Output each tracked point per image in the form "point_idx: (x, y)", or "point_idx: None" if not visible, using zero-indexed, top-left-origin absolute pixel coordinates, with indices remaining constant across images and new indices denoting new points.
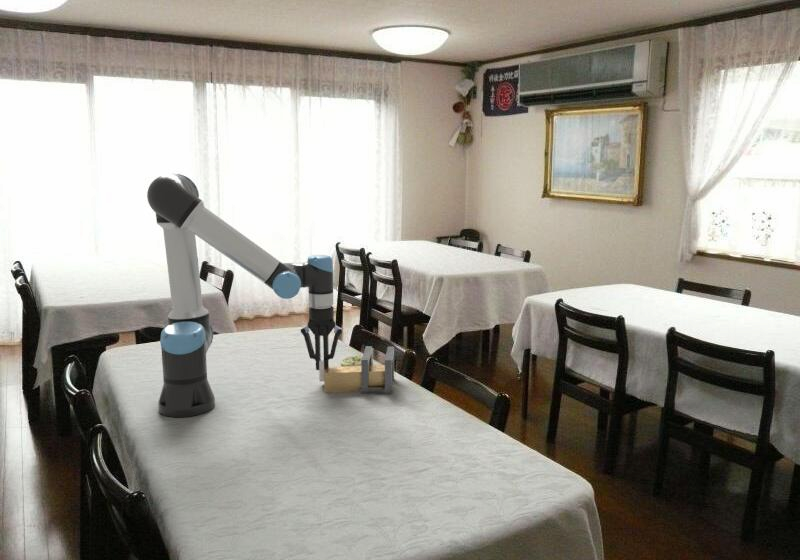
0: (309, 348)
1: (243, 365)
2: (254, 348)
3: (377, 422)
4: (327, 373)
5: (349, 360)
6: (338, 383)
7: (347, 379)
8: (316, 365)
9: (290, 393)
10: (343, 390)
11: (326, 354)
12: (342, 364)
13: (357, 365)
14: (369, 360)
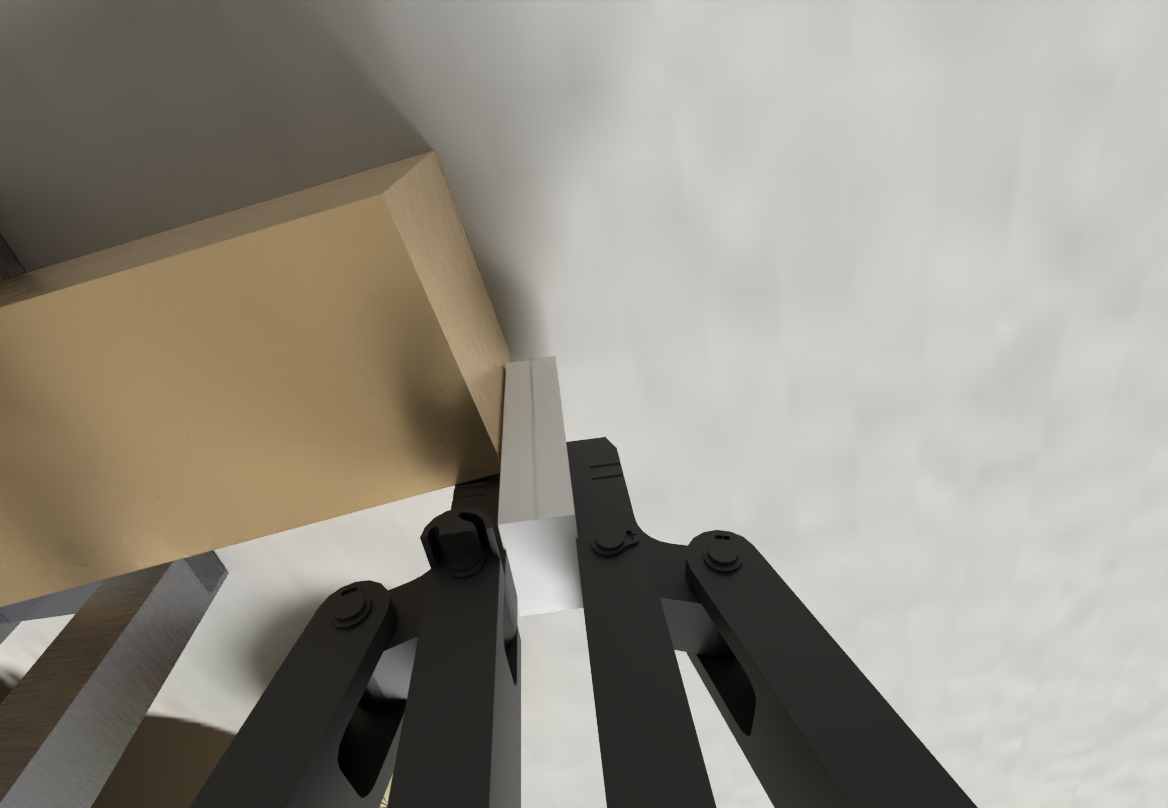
0: (837, 713)
1: (1133, 597)
2: (1021, 770)
3: None
4: (327, 208)
5: None
6: (234, 219)
7: (80, 268)
8: (614, 478)
9: (825, 41)
10: (222, 215)
11: (437, 641)
12: None
13: None
14: (9, 722)
